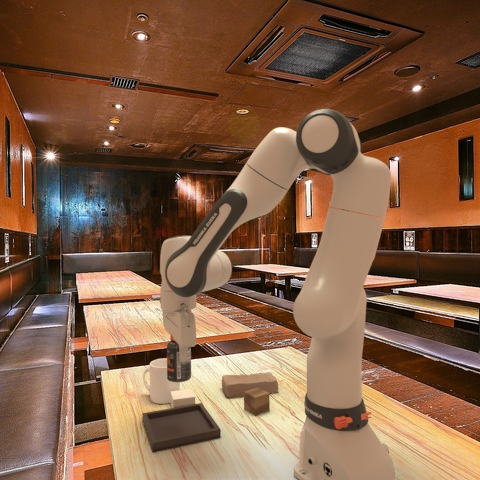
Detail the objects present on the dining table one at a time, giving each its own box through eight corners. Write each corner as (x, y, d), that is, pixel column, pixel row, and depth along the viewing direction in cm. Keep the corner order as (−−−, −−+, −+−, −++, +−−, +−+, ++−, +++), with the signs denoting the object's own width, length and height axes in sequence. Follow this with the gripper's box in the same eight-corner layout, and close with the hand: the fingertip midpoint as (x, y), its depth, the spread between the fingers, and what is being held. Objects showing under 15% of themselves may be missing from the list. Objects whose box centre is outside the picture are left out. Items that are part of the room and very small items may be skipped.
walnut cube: (269, 411, 106) (269, 392, 106) (255, 416, 103) (255, 397, 103) (257, 404, 110) (257, 387, 110) (244, 409, 107) (243, 391, 107)
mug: (152, 389, 122) (151, 355, 122) (185, 395, 117) (184, 359, 117) (134, 400, 114) (134, 363, 114) (169, 406, 109) (168, 368, 109)
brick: (270, 384, 126) (270, 369, 126) (279, 394, 118) (279, 378, 118) (221, 389, 122) (220, 374, 122) (226, 400, 114) (226, 384, 114)
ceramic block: (195, 411, 107) (195, 396, 106) (173, 414, 105) (173, 399, 105) (191, 402, 112) (191, 388, 112) (170, 405, 110) (170, 391, 110)
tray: (220, 437, 92) (220, 429, 92) (152, 452, 86) (152, 443, 86) (201, 410, 107) (201, 402, 107) (142, 420, 101) (142, 413, 101)
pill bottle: (164, 376, 98) (164, 332, 98) (187, 373, 100) (186, 329, 100) (170, 384, 92) (169, 337, 92) (194, 380, 95) (193, 334, 95)
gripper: (202, 306, 88) (203, 367, 88) (181, 294, 107) (181, 344, 107) (175, 308, 85) (175, 371, 85) (158, 296, 104) (159, 347, 104)
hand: (179, 356), depth 96 cm, fingers closed on pill bottle, 6 cm apart
